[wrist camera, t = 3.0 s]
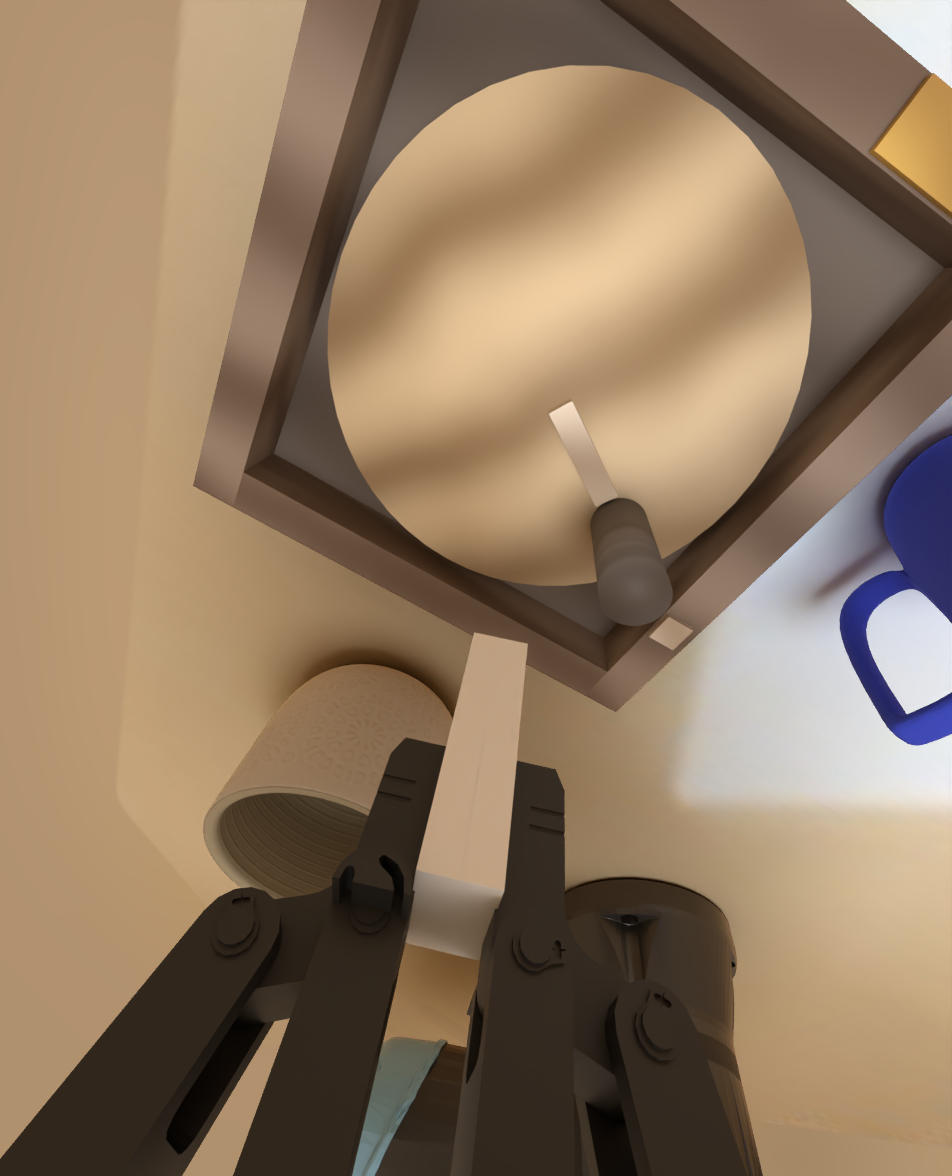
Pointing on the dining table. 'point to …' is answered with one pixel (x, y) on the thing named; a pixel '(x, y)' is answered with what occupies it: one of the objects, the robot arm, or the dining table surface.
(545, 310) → the dial
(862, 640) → the mug
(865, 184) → the brown wooden tray
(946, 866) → the dining table surface
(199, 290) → the dining table surface
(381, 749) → the planter
